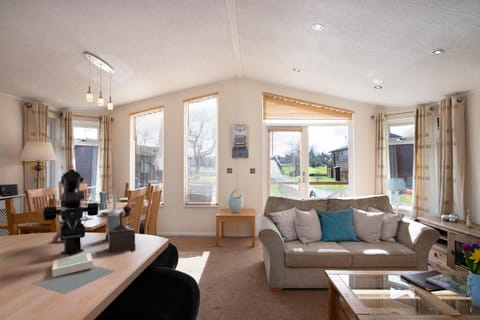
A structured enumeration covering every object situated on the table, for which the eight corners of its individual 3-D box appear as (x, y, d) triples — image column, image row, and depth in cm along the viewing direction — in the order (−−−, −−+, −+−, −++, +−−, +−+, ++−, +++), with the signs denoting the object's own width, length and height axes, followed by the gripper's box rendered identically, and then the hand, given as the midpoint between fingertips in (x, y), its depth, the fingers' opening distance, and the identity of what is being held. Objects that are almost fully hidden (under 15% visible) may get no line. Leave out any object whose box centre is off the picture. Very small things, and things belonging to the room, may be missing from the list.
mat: (31, 285, 88) (31, 283, 88) (84, 265, 104) (84, 263, 104) (64, 296, 81) (64, 293, 81) (115, 273, 97) (115, 270, 97)
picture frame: (52, 277, 92) (54, 267, 103) (93, 267, 98) (90, 259, 109) (52, 269, 92) (53, 260, 103) (92, 259, 98) (90, 252, 109)
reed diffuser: (125, 236, 144) (124, 188, 144) (121, 240, 136) (120, 190, 136) (109, 236, 143) (108, 188, 143) (103, 241, 135) (102, 190, 135)
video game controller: (75, 244, 136) (79, 229, 139) (69, 242, 132) (73, 227, 135) (56, 243, 137) (61, 229, 140) (50, 242, 133) (55, 227, 136)
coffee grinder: (137, 250, 121) (136, 209, 121) (109, 255, 115) (109, 212, 115) (132, 241, 134) (131, 204, 134) (107, 245, 129) (106, 207, 129)
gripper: (43, 186, 105) (41, 220, 96) (97, 183, 115) (100, 213, 106) (45, 203, 112) (43, 237, 103) (96, 199, 122) (99, 230, 112)
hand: (72, 229), depth 106 cm, fingers closed
